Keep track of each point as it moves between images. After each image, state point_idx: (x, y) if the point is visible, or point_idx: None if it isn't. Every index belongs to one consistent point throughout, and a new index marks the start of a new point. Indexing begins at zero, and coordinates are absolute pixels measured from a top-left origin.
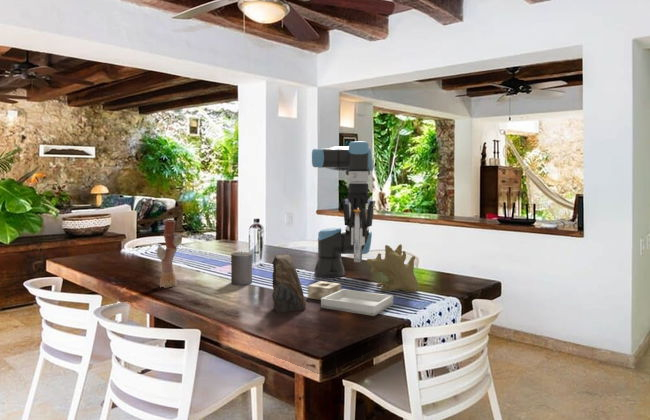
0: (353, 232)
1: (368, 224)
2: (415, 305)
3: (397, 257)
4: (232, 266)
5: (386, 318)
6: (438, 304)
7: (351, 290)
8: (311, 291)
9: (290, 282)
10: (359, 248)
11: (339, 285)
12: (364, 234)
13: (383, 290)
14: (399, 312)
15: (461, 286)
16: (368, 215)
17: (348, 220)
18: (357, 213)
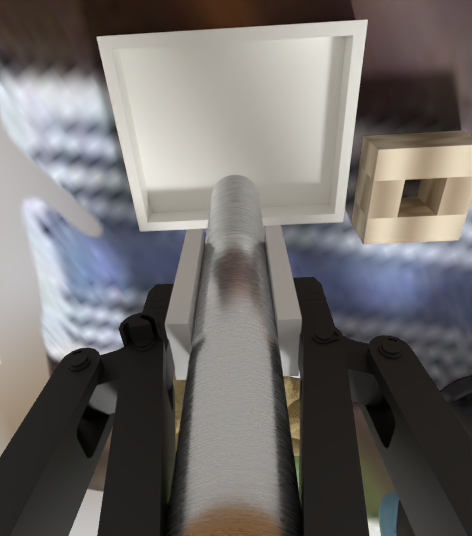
0: (273, 294)
1: (66, 370)
2: (86, 242)
3: (179, 411)
4: None
5: (54, 33)
6: (44, 284)
7: (303, 216)
8: (458, 138)
9: None
10: (211, 222)
11: (363, 231)
12: (156, 296)
13: None
14: (71, 140)
15: (109, 437)
16: (8, 494)
17: (390, 427)
18: (208, 512)
